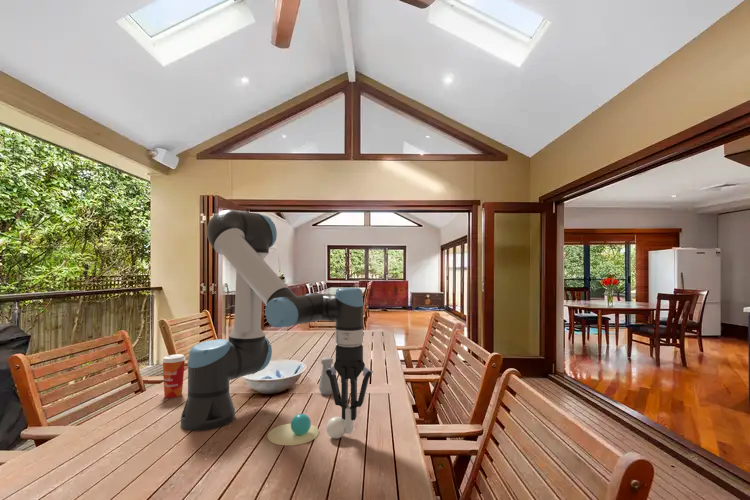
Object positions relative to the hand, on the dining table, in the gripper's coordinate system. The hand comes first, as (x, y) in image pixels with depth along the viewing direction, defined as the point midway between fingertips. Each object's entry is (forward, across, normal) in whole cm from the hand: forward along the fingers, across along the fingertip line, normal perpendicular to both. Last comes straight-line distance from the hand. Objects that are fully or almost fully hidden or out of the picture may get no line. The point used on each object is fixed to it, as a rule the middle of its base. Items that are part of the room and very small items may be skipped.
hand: (349, 431), depth 105 cm
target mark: (+2, -16, 0) cm, 16 cm away
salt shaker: (+2, -17, +34) cm, 38 cm away
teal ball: (-1, -14, 0) cm, 14 cm away
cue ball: (-1, -4, 0) cm, 4 cm away
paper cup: (+2, -71, +22) cm, 74 cm away
